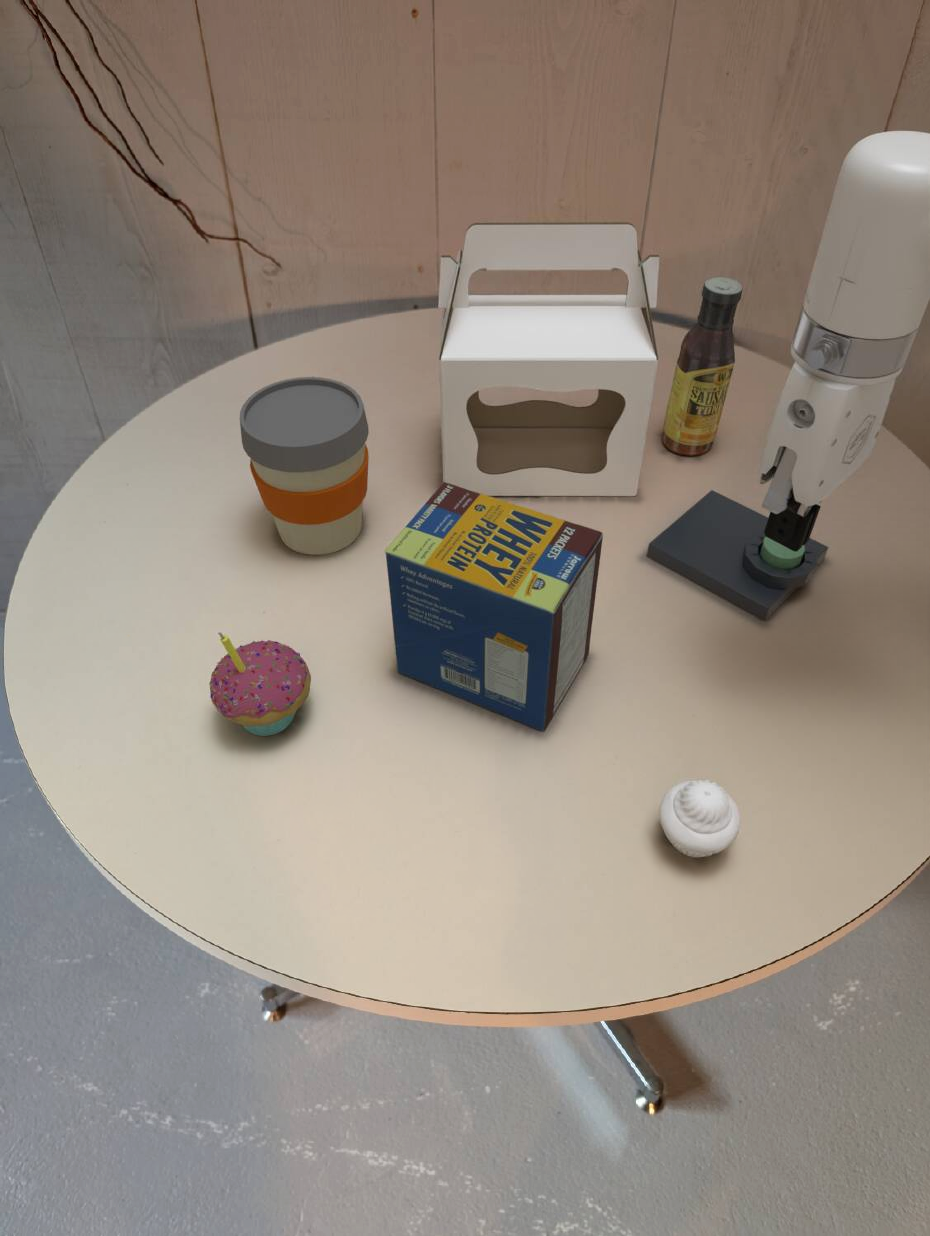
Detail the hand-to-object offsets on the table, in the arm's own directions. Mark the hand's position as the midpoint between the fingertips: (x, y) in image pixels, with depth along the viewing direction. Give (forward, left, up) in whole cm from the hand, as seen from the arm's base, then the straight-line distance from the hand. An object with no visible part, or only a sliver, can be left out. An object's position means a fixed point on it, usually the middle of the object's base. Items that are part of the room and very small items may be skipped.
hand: (785, 539), depth 75 cm
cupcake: (+28, +35, -15) cm, 47 cm away
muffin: (-7, +20, -15) cm, 26 cm away
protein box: (+17, +17, -15) cm, 28 cm away
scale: (+8, -11, -15) cm, 20 cm away
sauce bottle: (+23, -25, -15) cm, 37 cm away
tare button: (+4, -11, -12) cm, 16 cm away
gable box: (+34, -10, -15) cm, 39 cm away
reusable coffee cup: (+44, +15, -15) cm, 49 cm away
